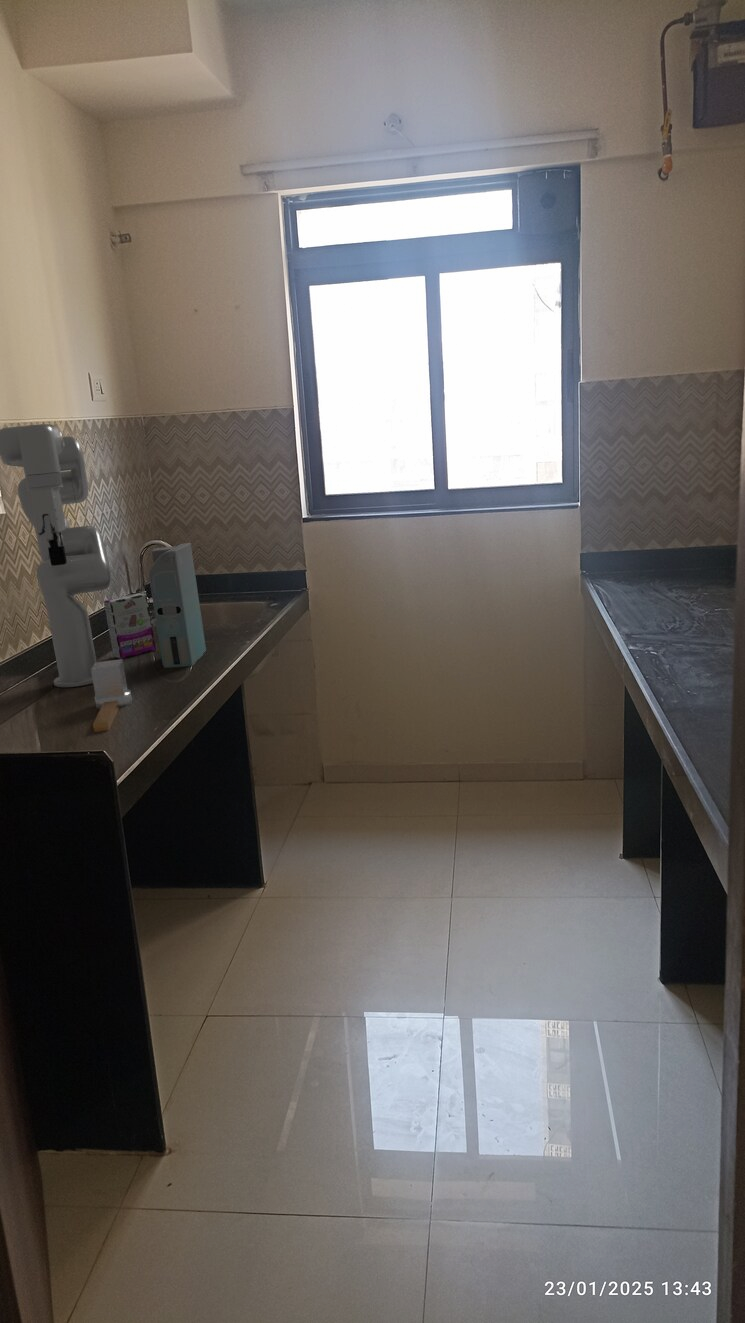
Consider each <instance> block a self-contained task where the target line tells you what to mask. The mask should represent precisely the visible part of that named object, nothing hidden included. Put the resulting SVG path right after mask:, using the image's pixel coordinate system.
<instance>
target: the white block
mask: <svg viewBox="0 0 745 1323" xmlns="http://www.w3.org/2000/svg"><path fill="white" fill-rule="evenodd" d="M123 660H124V659H113V660H105V661H97V662H96V663H94V665H93V666H92V668H91V673H92V679H93V683H92V684H93V690H94V696H96V699H101V698H109V697H117V696H124V695H125V693H126V690H127V689H128V684H127V679H126V678H127V677H126V672H125V666H124V661H123Z"/></svg>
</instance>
